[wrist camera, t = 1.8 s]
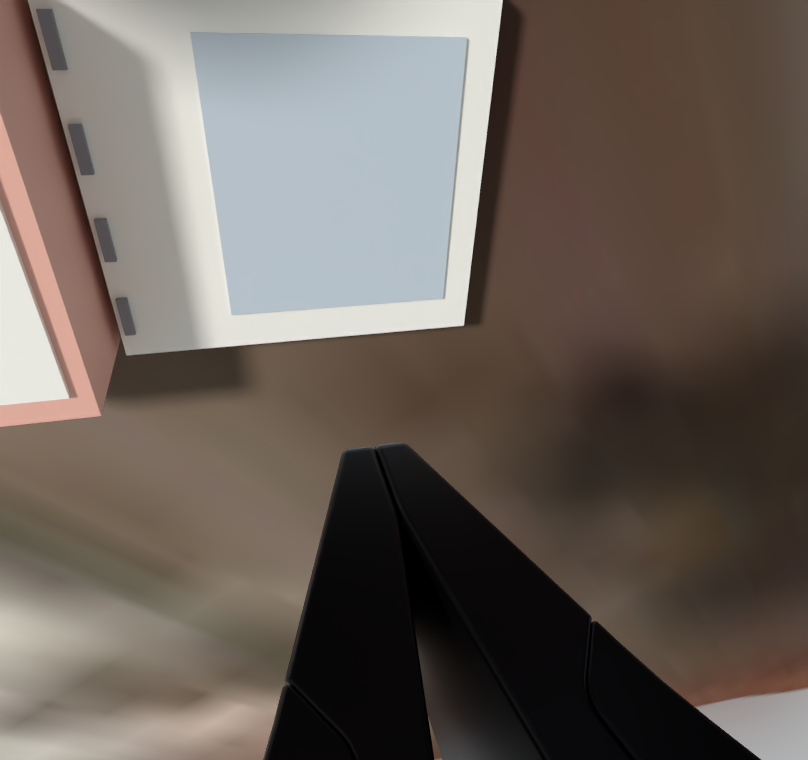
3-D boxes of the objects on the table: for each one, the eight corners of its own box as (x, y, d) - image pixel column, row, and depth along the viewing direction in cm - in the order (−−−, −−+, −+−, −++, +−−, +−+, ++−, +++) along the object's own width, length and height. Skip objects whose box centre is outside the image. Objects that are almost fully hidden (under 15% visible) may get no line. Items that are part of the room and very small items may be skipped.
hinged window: (488, -21, 16) (507, -18, 15) (453, 308, 22) (465, 327, 21) (31, -39, 14) (15, -36, 13) (131, 335, 20) (125, 358, 19)
